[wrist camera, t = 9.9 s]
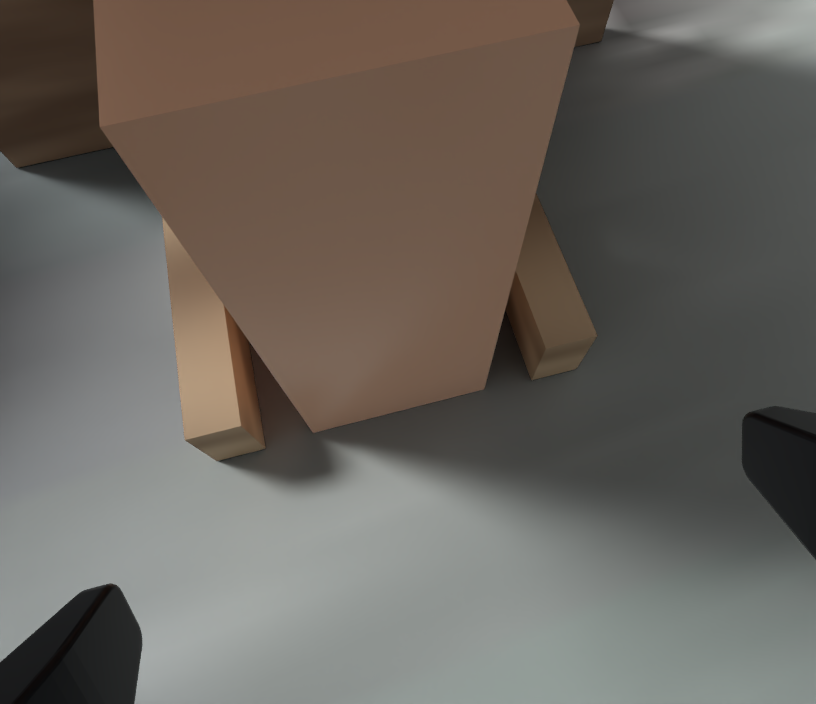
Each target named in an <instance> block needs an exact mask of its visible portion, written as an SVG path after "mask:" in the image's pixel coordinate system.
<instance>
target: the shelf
mask: <svg viewBox="0 0 816 704" xmlns="http://www.w3.org/2000/svg"><path fill="white" fill-rule="evenodd" d="M613 1H614V0H567V2H568V4H569V6H570V7H571V9H572V11H573V13H574V15H575V16H576V18H577V20H578V22H579V24H580V27H579V31H578V34H577V38H576V42H575V46H574V47H577V46H582V45H586V44H591V43H595V42H600V41H601V40H602V37H603V34H604V30H605V27H606V24H607V21H608V17H609V14H610V11H611V8H612V4H613ZM111 147H113V145H112V144H111V143H110V141H109V140H108V138H107V137H106V135H105V134H104V132H103V131H102V130H101V128H100V124H99V105H98V85H97V66H96V46H95V27H94V7H93V0H0V151H1V152H2V153H3V154H4V155H5V156H6V157H7V158H8V159H9V161H10V162H11V163H12V164H13V165H14V166H15V167H16V168H19V167H23V166H28V165H33V164H37V163H42V162H46V161H51V160H56V159H60V158H65V157H70V156H74V155H79V154H83V153H88V152H93V151H97V150H102V149H106V148H111ZM162 220H163V230H164V240H165V250H166V260H167V269H168V279H169V289H170V299H171V309H172V319H173V329H174V339H175V348H176V358H177V368H178V378H179V388H180V398H181V408H182V418H183V427H184V437H185V441H187V442H188V443H190V444H192V445H193V446H195V447H196V448H198V449H199V450H201V451H202V452H204V453H205V454H207V455H208V456H210V457H212V458H213V459H215V460H216V461H219V460H223V459H227V458H231V457H235V456H239V455H243V454H247V453H251V452H255V451H258V450H262V449H266V447H265V441H264V435H263V428H262V422H261V416H260V409H259V403H258V397H257V390H256V384H255V378H254V371H253V365H252V359H251V353H250V346H249V340H248V339H247V338H246V336H245V335H244V333H243V332H242V330H241V329H240V327H239V326H238V325H237V323H236V322H235V320H234V319H233V317H232V316H231V315H230V313H229V312H228V310H227V309H226V307H225V306H224V305H223V303H222V302H221V300H220V299H219V297H218V296H217V295H216V293H215V292H214V290H213V289H212V287H211V286H210V284H209V283H208V282H207V280H206V279H205V277H204V276H203V274H202V273H201V272H200V270H199V269H198V267H197V266H196V264H195V263H194V262H193V260H192V259H191V257H190V256H189V254H188V253H187V251H186V250H185V249H184V247H183V246H182V244H181V243H180V241H179V240H178V239H177V237H176V236H175V234H174V233H173V231H172V230H171V229H170V227H169V226H168V224H167V223H166V221H165V220H164V219H163V217H162ZM505 310H506V313H507V316H508V318H509V321H510V324H511V326H512V329H513V332H514V335H515V337H516V340H517V343H518V346H519V348H520V351H521V354H522V356H523V359H524V362H525V365H526V367H527V370H528V373H529V376H530V378H531V380H535V379H539V378H543V377H547V376H551V375H555V374H559V373H563V372H566V371H570V370H574V369H577V367H578V366H579V364H580V363H581V361H582V359H583V358H584V356H585V355H586V353H587V352H588V350H589V348H590V347H591V345H592V344H593V342H594V341H595V339H596V337H597V336H598V335H597V333H596V331H595V328H594V326H593V324H592V322H591V319H590V317H589V315H588V312H587V310H586V308H585V305H584V303H583V301H582V298H581V296H580V294H579V291H578V289H577V287H576V284H575V282H574V280H573V277H572V275H571V273H570V270H569V268H568V266H567V264H566V261H565V259H564V257H563V254H562V252H561V250H560V247H559V245H558V243H557V240H556V238H555V236H554V233H553V231H552V229H551V226H550V224H549V222H548V219H547V217H546V215H545V212H544V210H543V208H542V206H541V203H540V201H539V199H538V196H537V194H535V198H534V202H533V206H532V209H531V213H530V217H529V221H528V225H527V228H526V232H525V236H524V240H523V244H522V248H521V251H520V255H519V259H518V263H517V267H516V270H515V274H514V278H513V282H512V286H511V289H510V293H509V297H508V301H507V305H506V308H505Z"/></svg>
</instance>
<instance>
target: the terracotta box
mask: <svg viewBox="0 0 816 704" xmlns="http://www.w3.org/2000/svg"><path fill="white" fill-rule="evenodd" d="M93 7H94V27H95V46H96V66H97V85H98V105H99V124H100V128H101V130H102V131H103V132H104V134H105V135H106V137H107V138H108V140H109V141H110V143H111V144H112V145H113V147H114V148H115V150H116V151H117V153H118V154H119V155H120V157H121V158H122V160H123V161H124V163H125V164H126V165H127V167H128V168H129V170H130V171H131V173H132V174H133V175H134V177H135V178H136V180H137V181H138V183H139V184H140V186H141V187H142V188H143V190H144V191H145V193H146V194H147V196H148V197H149V198H150V200H151V201H152V203H153V204H154V206H155V207H156V208H157V210H158V211H159V213H160V214H161V216H162V217H163V219H164V220H165V221H166V223H167V224H168V226H169V227H170V229H171V230H172V231H173V233H174V234H175V236H176V237H177V239H178V240H179V241H180V243H181V244H182V246H183V247H184V249H185V250H186V251H187V253H188V254H189V256H190V257H191V259H192V260H193V262H194V263H195V264H196V266H197V267H198V269H199V270H200V272H201V273H202V274H203V276H204V277H205V279H206V280H207V282H208V283H209V284H210V286H211V287H212V289H213V290H214V292H215V293H216V295H217V296H218V297H219V299H220V300H221V302H222V303H223V305H224V306H225V307H226V309H227V310H228V312H229V313H230V315H231V316H232V317H233V319H234V320H235V322H236V323H237V325H238V326H239V327H240V329H241V330H242V332H243V333H244V335H245V336H246V338H247V339H248V340H249V342H250V343H251V345H252V346H253V348H254V349H255V350H256V352H257V353H258V355H259V356H260V358H261V359H262V360H263V362H264V363H265V365H266V366H267V368H268V369H269V370H270V372H271V373H272V375H273V376H274V378H275V379H276V381H277V382H278V383H279V385H280V386H281V388H282V389H283V391H284V392H285V393H286V395H287V396H288V398H289V399H290V401H291V402H292V403H293V405H294V406H295V408H296V409H297V411H298V412H299V414H300V415H301V416H302V418H303V419H304V421H305V422H306V424H307V425H308V426H309V428H310V429H311V431H312V432H313V433H315V432H319V431H323V430H327V429H331V428H335V427H339V426H343V425H347V424H351V423H355V422H359V421H362V420H366V419H370V418H374V417H378V416H382V415H386V414H390V413H394V412H398V411H402V410H406V409H409V408H413V407H417V406H421V405H425V404H429V403H433V402H437V401H441V400H445V399H449V398H453V397H456V396H460V395H464V394H468V393H472V392H476V391H480V390H484V388H485V385H486V381H487V377H488V373H489V369H490V366H491V362H492V358H493V354H494V350H495V347H496V343H497V339H498V335H499V331H500V327H501V324H502V320H503V316H504V312H505V308H506V305H507V301H508V297H509V293H510V289H511V286H512V282H513V278H514V274H515V270H516V267H517V263H518V259H519V255H520V251H521V248H522V244H523V240H524V236H525V232H526V228H527V225H528V221H529V217H530V213H531V209H532V206H533V202H534V198H535V194H536V190H537V187H538V183H539V179H540V175H541V171H542V168H543V164H544V160H545V156H546V152H547V149H548V145H549V141H550V137H551V133H552V130H553V126H554V122H555V118H556V114H557V110H558V107H559V103H560V99H561V95H562V91H563V88H564V84H565V80H566V76H567V72H568V69H569V65H570V61H571V57H572V53H573V50H574V46H575V42H576V38H577V34H578V31H579V27H580V24H579V22H578V20H577V18H576V16H575V15H574V13H573V11H572V9H571V7H570V6H569V4H568V2H567V0H93Z"/></svg>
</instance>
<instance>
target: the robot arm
mask: <svg viewBox="0 0 816 704" xmlns="http://www.w3.org/2000/svg"><path fill="white" fill-rule="evenodd" d="M742 464H743V468H744V471H745V473H746V475H747V477H748V478H749V480H750V481H751V482H752V483H753V485H754V486H755V487H756V488H757V489H758V491H759V492H760V493H761V494H762V496H763V497H764V498H765V499H766V500H767V502H768V503H769V504H770V505H771V506H772V508H773V509H774V510H775V511H776V512H777V514H778V515H779V516H780V517H781V519H782V520H783V521H784V522H785V523H786V525H787V526H788V527H789V528H790V529H791V531H792V532H793V533H794V534H795V535H796V537H797V538H798V539H799V540H800V542H801V543H802V544H803V545H804V546H805V548H806V549H807V550H808V551H809V552H810V553H811V555H812V556H813V557H814V558H815V559H816V413H811V412H805V411H800V410H794V409H789V408H784V407H778V406H772V407H767V408H763V409H760V410H756V411H752V412H749V413H748V414H746V415H745V417H744V419H743V422H742ZM141 651H142V634H141V630H140V627H139V624H138V622H137V620H136V618H135V616H134V614H133V612H132V610H131V608H130V606H129V604H128V602H127V600H126V599H125V597H124V595H123V593H122V591H121V589H120V588H119V587H118V586H117V585H115V584H106V585H102V586H98V587H94V588H91V589H87V590H84V591H82V592H80V593H79V594H78V595H76V596H75V597H74V598H73V599H72V600H71V601H70V602H68V603H67V604H66V605H65V606H64V607H63V608H62V609H60V610H59V611H58V612H57V613H56V614H55V615H54V616H53V617H51V618H50V619H49V620H48V621H47V622H46V623H45V624H43V625H42V626H41V627H40V628H39V629H38V630H37V631H35V632H34V633H33V634H32V635H31V636H30V637H29V638H27V639H26V640H25V641H24V642H23V643H22V644H21V645H19V646H18V647H17V648H16V649H15V650H14V651H13V652H11V653H10V654H9V655H8V656H7V657H6V658H5V659H3V660H2V661H1V662H0V704H134V701H135V694H136V687H137V680H138V673H139V665H140V658H141Z"/></svg>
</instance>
